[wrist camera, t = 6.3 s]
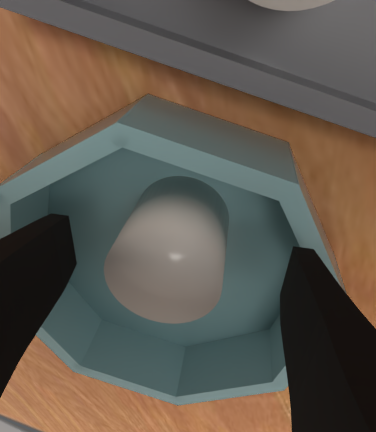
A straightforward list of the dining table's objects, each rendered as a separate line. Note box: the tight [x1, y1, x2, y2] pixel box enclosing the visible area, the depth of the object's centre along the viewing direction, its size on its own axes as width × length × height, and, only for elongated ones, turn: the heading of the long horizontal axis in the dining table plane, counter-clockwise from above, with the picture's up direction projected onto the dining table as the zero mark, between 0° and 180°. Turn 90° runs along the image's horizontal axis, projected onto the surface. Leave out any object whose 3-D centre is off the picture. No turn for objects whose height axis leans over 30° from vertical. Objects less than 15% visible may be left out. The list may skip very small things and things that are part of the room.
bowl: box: [0, 94, 346, 406], centre depth 15 cm, size 13×13×4 cm
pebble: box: [104, 176, 229, 324], centre depth 13 cm, size 4×4×4 cm
